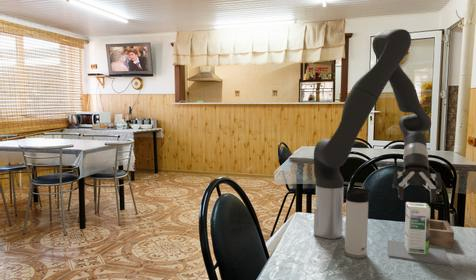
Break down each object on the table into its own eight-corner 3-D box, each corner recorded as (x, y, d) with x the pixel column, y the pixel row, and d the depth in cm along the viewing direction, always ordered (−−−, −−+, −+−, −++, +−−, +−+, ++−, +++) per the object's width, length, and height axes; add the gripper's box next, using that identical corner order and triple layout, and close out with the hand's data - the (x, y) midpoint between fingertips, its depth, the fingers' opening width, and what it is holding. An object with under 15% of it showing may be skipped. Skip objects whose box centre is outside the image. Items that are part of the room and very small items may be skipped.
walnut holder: (410, 242, 116) (411, 227, 116) (408, 230, 127) (408, 217, 127) (453, 248, 112) (454, 232, 111) (446, 235, 123) (447, 221, 122)
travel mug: (369, 259, 103) (371, 192, 102) (345, 257, 105) (347, 191, 103) (366, 251, 110) (368, 187, 108) (343, 249, 111) (345, 186, 109)
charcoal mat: (388, 256, 105) (388, 255, 105) (387, 241, 117) (387, 240, 117) (450, 265, 99) (450, 264, 99) (443, 248, 111) (443, 246, 111)
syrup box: (407, 253, 106) (409, 206, 105) (403, 246, 112) (405, 201, 111) (428, 255, 105) (431, 207, 103) (423, 247, 111) (426, 202, 109)
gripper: (393, 151, 121) (392, 191, 112) (441, 153, 116) (444, 196, 107) (392, 164, 127) (391, 203, 117) (437, 166, 121) (441, 208, 112)
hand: (417, 200), depth 112 cm, fingers open, 8 cm apart
